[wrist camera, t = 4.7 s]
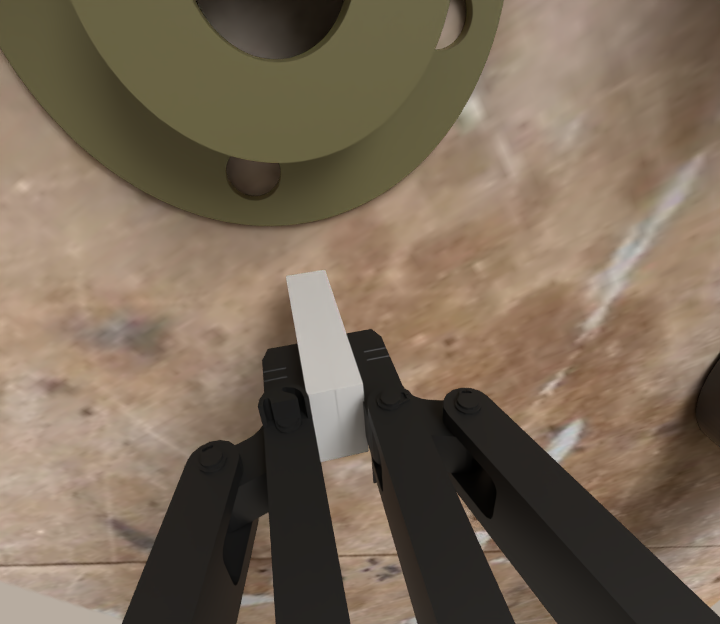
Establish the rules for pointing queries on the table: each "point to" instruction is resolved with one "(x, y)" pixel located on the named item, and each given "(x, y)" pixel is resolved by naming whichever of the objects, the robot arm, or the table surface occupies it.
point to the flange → (249, 98)
